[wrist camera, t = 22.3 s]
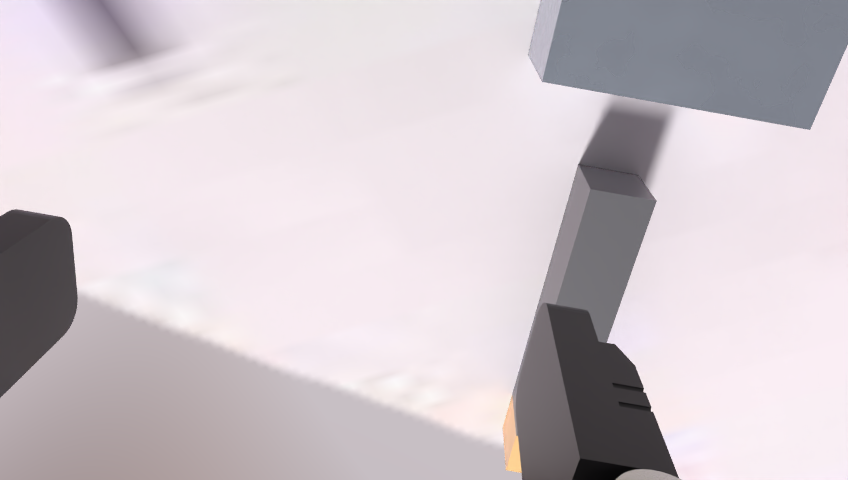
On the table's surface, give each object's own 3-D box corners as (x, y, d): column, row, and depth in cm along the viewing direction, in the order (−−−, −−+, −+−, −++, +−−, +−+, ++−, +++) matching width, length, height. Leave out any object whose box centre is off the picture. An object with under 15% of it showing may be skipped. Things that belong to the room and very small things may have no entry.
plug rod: (502, 427, 45) (505, 470, 42) (578, 164, 36) (590, 188, 33) (550, 435, 45) (558, 479, 42) (637, 175, 37) (656, 200, 33)
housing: (528, 54, 34) (541, 81, 28) (566, -114, 31) (592, -127, 24) (746, 94, 34) (810, 129, 28) (809, -69, 31) (898, -71, 24)
